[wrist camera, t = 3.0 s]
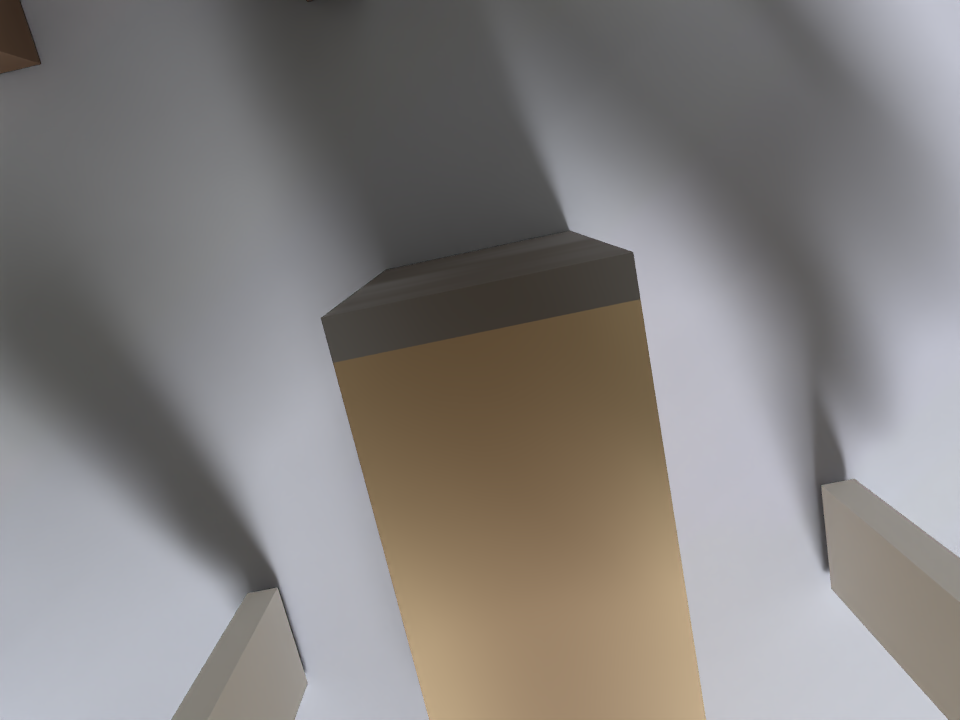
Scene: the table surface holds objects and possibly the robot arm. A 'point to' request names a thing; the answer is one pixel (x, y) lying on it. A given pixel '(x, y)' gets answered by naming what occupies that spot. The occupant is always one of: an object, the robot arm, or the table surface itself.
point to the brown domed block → (16, 38)
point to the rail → (521, 482)
